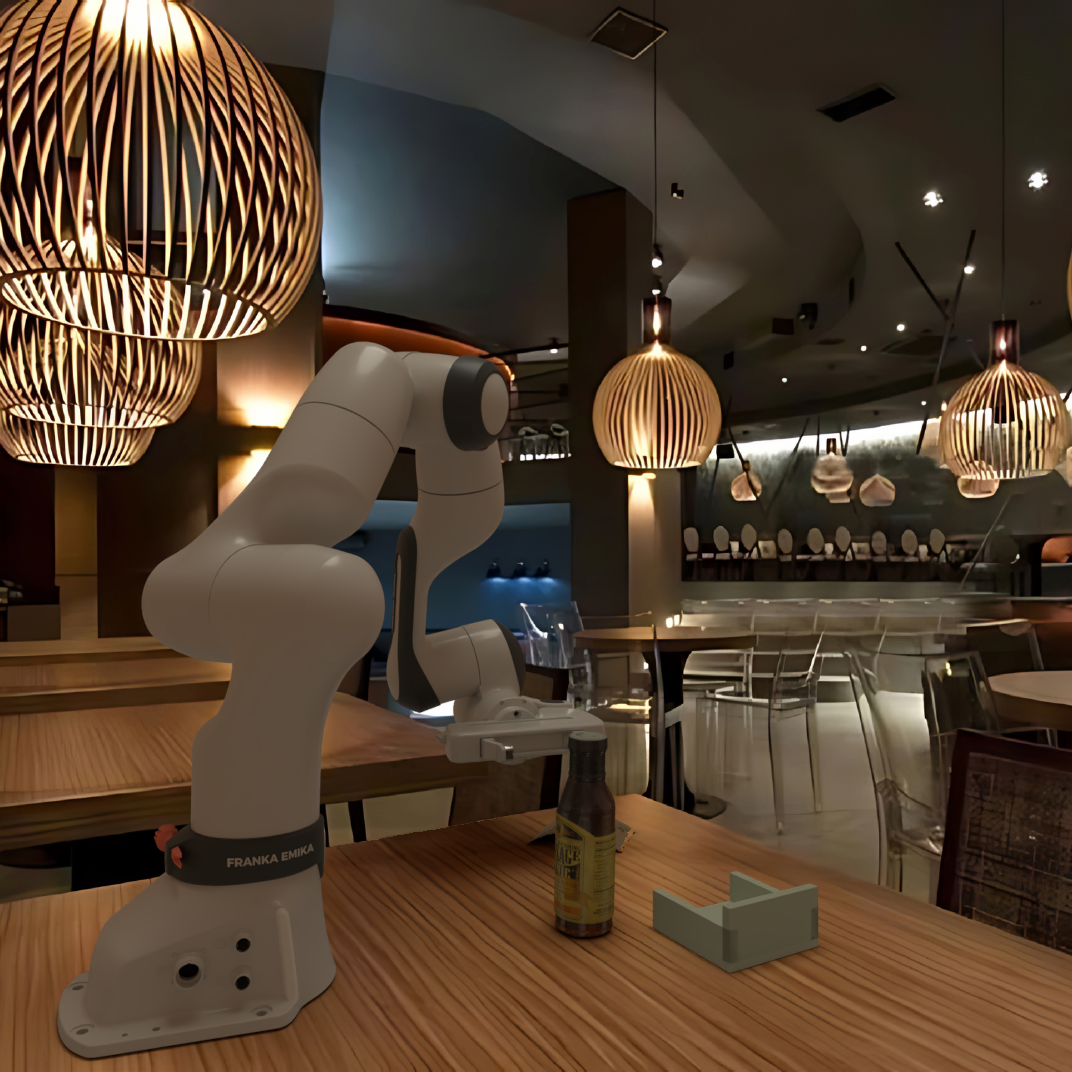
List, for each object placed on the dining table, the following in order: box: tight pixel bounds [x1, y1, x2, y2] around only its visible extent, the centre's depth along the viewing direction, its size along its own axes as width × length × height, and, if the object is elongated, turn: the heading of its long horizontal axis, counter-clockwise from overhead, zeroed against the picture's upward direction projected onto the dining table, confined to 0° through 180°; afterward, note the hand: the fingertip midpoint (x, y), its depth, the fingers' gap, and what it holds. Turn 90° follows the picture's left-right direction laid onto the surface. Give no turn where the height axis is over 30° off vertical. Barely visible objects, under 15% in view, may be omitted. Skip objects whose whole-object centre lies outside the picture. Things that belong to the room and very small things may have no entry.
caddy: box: [652, 870, 819, 974], centre depth 88 cm, size 12×12×6 cm
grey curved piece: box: [526, 819, 632, 853], centre depth 119 cm, size 14×10×3 cm
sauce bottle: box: [553, 731, 617, 938], centre depth 90 cm, size 6×6×20 cm
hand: (546, 751), depth 101 cm, fingers open, 8 cm apart
